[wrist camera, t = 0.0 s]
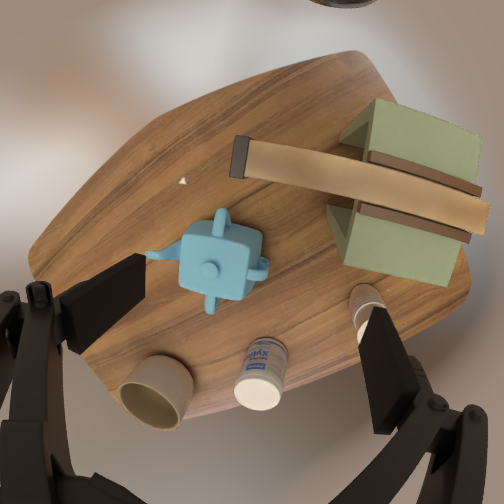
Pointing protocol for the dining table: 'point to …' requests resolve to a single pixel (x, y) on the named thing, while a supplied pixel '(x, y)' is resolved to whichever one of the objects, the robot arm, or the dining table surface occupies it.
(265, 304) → the dining table surface
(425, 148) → the shelf stand
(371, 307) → the candle
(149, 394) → the planter
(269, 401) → the supplement tub
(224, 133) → the dining table surface
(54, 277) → the dining table surface
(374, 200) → the slide bar
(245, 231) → the teapot
